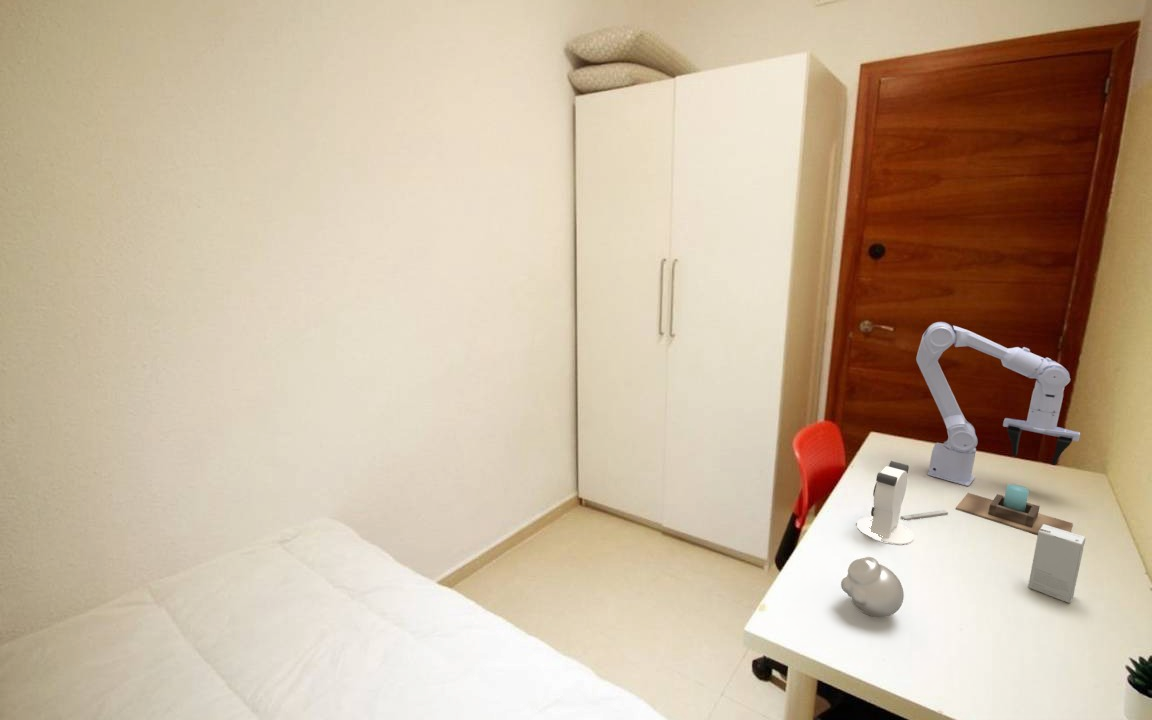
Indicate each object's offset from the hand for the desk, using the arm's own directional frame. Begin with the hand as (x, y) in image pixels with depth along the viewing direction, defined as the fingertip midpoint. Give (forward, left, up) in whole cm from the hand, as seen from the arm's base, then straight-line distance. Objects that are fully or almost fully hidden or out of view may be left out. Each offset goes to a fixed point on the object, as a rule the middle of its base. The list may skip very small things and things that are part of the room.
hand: (1033, 459), depth 133 cm
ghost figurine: (-10, -80, -10) cm, 82 cm away
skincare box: (+10, -49, -10) cm, 51 cm away
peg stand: (0, -19, -9) cm, 21 cm away
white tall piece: (-18, -49, -10) cm, 53 cm away
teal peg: (0, -19, -9) cm, 21 cm away
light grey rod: (-14, -35, -10) cm, 39 cm away
